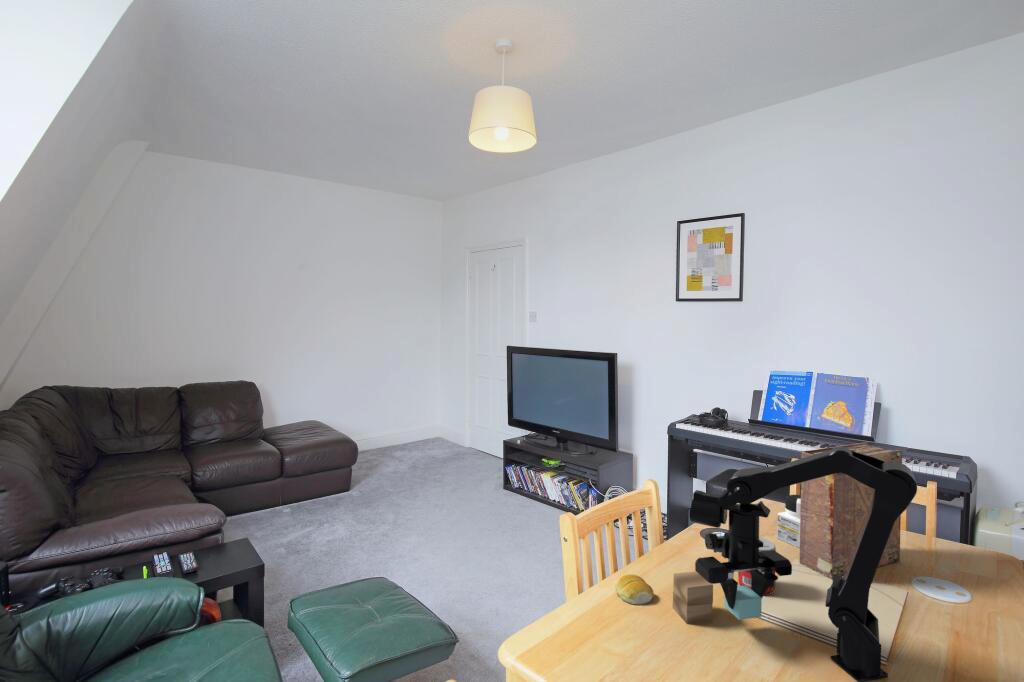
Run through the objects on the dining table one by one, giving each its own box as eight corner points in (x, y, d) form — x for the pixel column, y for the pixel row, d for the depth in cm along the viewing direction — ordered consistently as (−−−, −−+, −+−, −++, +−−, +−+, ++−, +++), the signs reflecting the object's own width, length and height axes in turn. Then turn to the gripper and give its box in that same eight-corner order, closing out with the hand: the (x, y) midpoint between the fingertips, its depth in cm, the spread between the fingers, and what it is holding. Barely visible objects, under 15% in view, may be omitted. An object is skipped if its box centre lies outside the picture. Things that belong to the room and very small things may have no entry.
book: (865, 547, 144) (867, 441, 143) (900, 561, 135) (903, 449, 134) (799, 563, 135) (801, 451, 134) (831, 580, 126) (834, 460, 125)
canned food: (779, 597, 119) (780, 551, 118) (742, 594, 120) (743, 548, 120) (769, 580, 126) (770, 537, 126) (735, 577, 128) (735, 534, 127)
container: (776, 538, 150) (777, 494, 149) (794, 533, 153) (795, 490, 153) (801, 549, 143) (801, 503, 142) (819, 543, 146) (820, 499, 146)
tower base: (712, 621, 110) (712, 603, 110) (686, 624, 109) (686, 606, 109) (697, 605, 116) (697, 588, 116) (672, 608, 115) (672, 591, 115)
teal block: (761, 617, 104) (761, 597, 104) (739, 619, 103) (739, 600, 103) (745, 603, 109) (746, 585, 109) (724, 606, 108) (724, 587, 108)
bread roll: (640, 583, 126) (640, 567, 126) (658, 602, 117) (658, 586, 117) (609, 587, 124) (609, 571, 124) (625, 607, 116) (625, 590, 115)
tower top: (712, 602, 110) (713, 584, 110) (687, 605, 109) (687, 587, 109) (697, 588, 116) (698, 571, 116) (673, 590, 115) (673, 573, 115)
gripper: (758, 514, 115) (757, 581, 116) (681, 520, 111) (681, 590, 112) (794, 534, 104) (793, 609, 105) (710, 543, 100) (710, 620, 101)
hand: (742, 606), depth 106 cm, fingers closed on teal block, 5 cm apart
